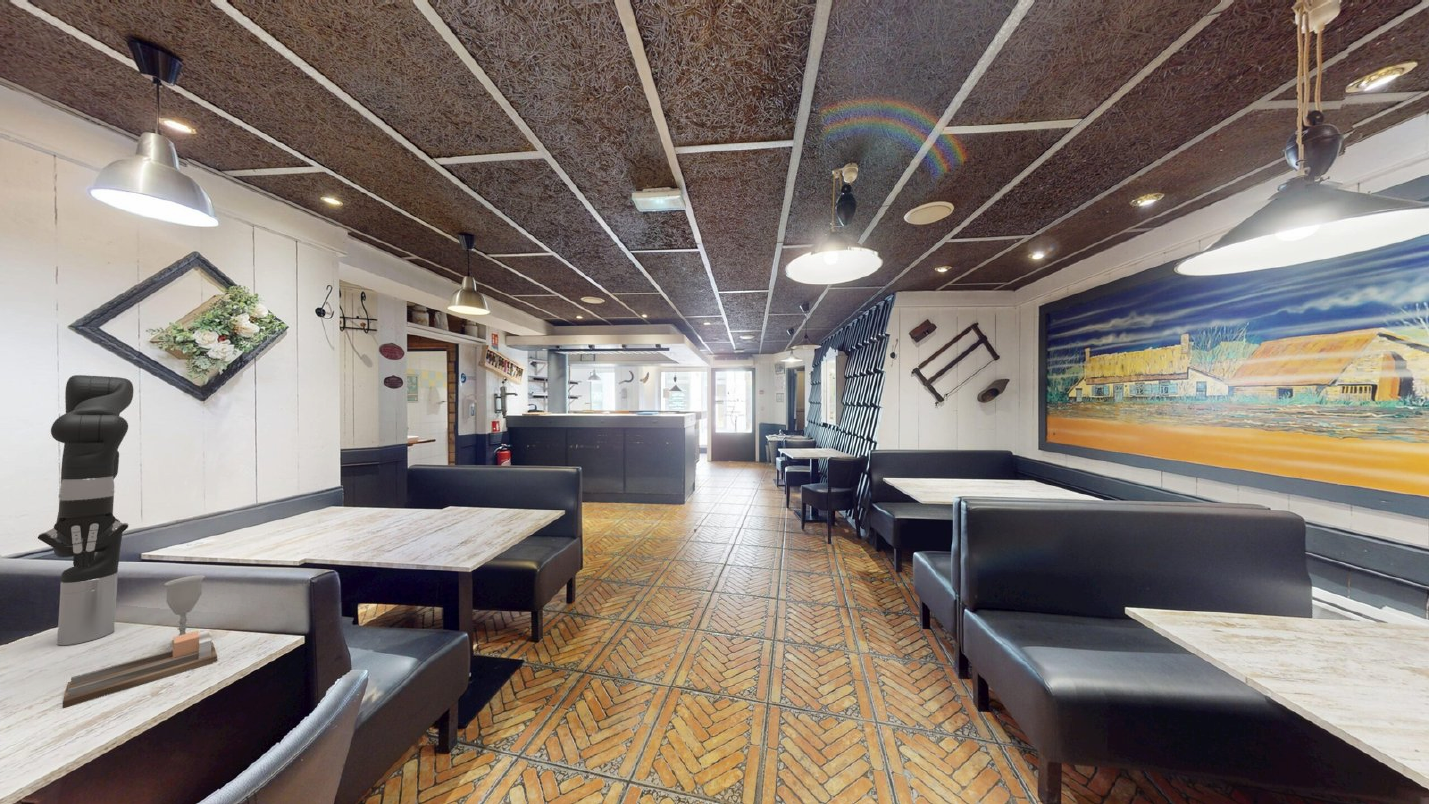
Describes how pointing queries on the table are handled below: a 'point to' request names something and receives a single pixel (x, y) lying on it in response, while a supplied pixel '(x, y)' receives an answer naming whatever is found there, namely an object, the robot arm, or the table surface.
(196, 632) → the orange-brown block
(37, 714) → the table surface
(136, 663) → the rail board
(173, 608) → the chalice
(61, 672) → the table surface
